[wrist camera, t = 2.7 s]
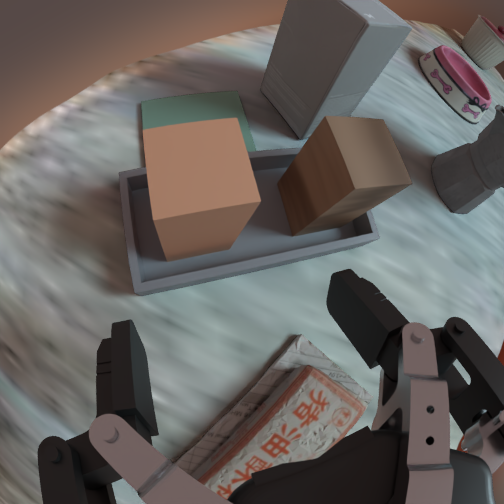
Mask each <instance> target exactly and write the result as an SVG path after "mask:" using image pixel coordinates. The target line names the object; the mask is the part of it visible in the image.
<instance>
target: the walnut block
mask: <svg viewBox="0 0 504 504" xmlns="http://www.w3.org/2000/svg"><path fill="white" fill-rule="evenodd" d="M411 184H412V181H411V179H410V176H409V174H408V172H407V169H406V167H405V164H404V162H403V160H402V158H401V155H400V153H399V151H398V149H397V146H396V144H395V142H394V140H393V138H392V136H391V134H390V132H389V130H388V128H387V126H386V124H385V122H384V120H382V119H372V118H359V117H343V116H325V117H324V118H323V119H322V121H321V122H320V124H319V125H318V126H317V128H316V129H315V130H314V132H313V133H312V135H311V136H310V137H309V139H308V140H307V142H306V143H305V144H304V146H303V147H302V149H301V150H300V152H299V153H298V154H297V156H296V157H295V159H294V160H293V161H292V163H291V164H290V166H289V167H288V169H287V170H286V171H285V173H284V174H283V176H282V177H281V179H280V180H279V181H278V183H277V185H278V189H279V192H280V195H281V199H282V202H283V205H284V209H285V212H286V216H287V219H288V222H289V226H290V229H291V233H292V236H293V237H294V236H299V235H304V234H309V233H314V232H320V231H325V230H330V229H335V228H340V227H342V226H344V225H346V224H347V223H349V222H351V221H352V220H354V219H355V218H357V217H359V216H360V215H362V214H364V213H365V212H367V211H369V210H370V209H372V208H374V207H375V206H377V205H379V204H380V203H382V202H383V201H385V200H387V199H388V198H390V197H392V196H393V195H395V194H396V193H398V192H400V191H401V190H403V189H404V188H406V187H408V186H409V185H411Z"/></svg>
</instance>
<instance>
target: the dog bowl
mask: <svg viewBox="0 0 504 504" xmlns="http://www.w3.org/2000/svg"><path fill="white" fill-rule="evenodd" d="M418 62H419V66H420V68H421V70H422V72H423V74H424V76H425V77H426V79H427V80H428V82H429V83H430V84H431V86H432V87H433V88H434V90H435V91H436V92H437V93H438V95H439V96H440V97H441V98H442V99H443V100H444V101H445V102H446V104H447V105H448V106H449V107H450V108H451V109H452V110H453V111H454V112H456V113H457V114H458V115H459V116H460V117H461V118H463V119H464V120H465V121H467V122H469V123H471V124H477V123H478V122H479V120H480V119H481V117H482V116H483V114H484V113H485V111H486V110H487V109H488V107H489V106H490V104H491V95H490V93H489V90H488V88H487V87H486V85H485V84H484V82H483V80H482V79H481V78H480V76H479V75H478V74H477V72H476V71H475V70H474V69H473V68H472V67H471V66H470V64H469V63H468V62H467V61H466V60H465V59H464V58H462V57H461V56H460V55H459V54H458V53H457V52H455V51H454V50H452V49H451V48H449V47H447V46H444V45H441V46H439V47H437V48H435V49H434V50H432V51H430V52H429V53H427V54H425V55H423V56H421V57H419V59H418Z"/></svg>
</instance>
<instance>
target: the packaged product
mask: <svg viewBox="0 0 504 504" xmlns="http://www.w3.org/2000/svg"><path fill="white" fill-rule="evenodd" d="M372 399H373V396H372V395H371V394H369V393H368V392H367V391H366V390H365V389H364V388H363V387H361V386H360V385H359V384H358V383H357V382H356V381H355V380H353V379H352V378H351V377H350V376H349V375H348V374H346V373H345V372H344V371H343V370H342V369H341V368H340V367H338V366H337V365H336V364H335V363H334V362H333V361H331V360H330V359H329V358H328V357H327V356H326V355H325V354H324V353H322V352H321V351H320V350H319V349H318V348H317V347H316V346H314V345H313V344H312V343H311V342H310V341H309V340H307V339H306V338H305V337H304V336H303V335H302V334H300V335H298V336H297V337H296V338H295V339H294V340H293V342H292V343H291V344H290V345H289V346H288V347H287V348H286V349H285V350H284V351H283V353H282V354H281V355H280V356H279V357H278V358H277V360H276V361H275V362H274V363H273V364H272V365H271V366H270V368H269V369H268V370H267V371H266V373H265V374H264V375H263V377H262V378H261V379H260V380H259V381H258V382H257V384H256V385H255V386H254V387H253V388H252V389H251V390H250V391H249V392H248V393H247V394H246V395H245V396H244V397H243V398H242V399H241V400H240V401H239V402H238V403H237V404H236V405H235V406H234V407H233V408H232V409H231V410H230V411H229V412H228V413H227V414H226V415H225V416H223V417H222V418H221V419H220V420H219V421H218V422H217V423H216V424H215V425H214V426H213V427H212V428H211V429H210V430H209V431H208V432H207V433H206V434H205V435H204V437H203V438H202V439H201V440H200V441H199V442H198V443H197V444H196V445H195V446H194V447H192V448H191V449H190V450H189V451H187V452H186V453H185V454H184V455H183V456H182V457H181V458H180V459H179V460H178V461H176V462H175V463H174V464H175V465H177V466H178V467H179V468H181V469H182V470H183V471H185V472H186V473H187V474H189V475H190V476H191V477H193V478H194V479H196V480H197V481H198V482H200V483H201V484H203V485H204V486H206V487H207V488H209V489H210V490H212V491H213V492H215V493H216V494H218V495H220V496H221V497H223V498H224V499H226V500H227V499H228V497H229V496H230V495H231V494H232V492H233V491H234V490H235V489H236V488H237V487H239V486H240V485H241V484H243V483H244V482H245V481H247V480H249V479H251V473H254V472H257V471H261V470H264V469H267V468H270V467H273V466H276V465H279V464H282V463H290V462H297V461H304V460H310V459H316V458H318V457H320V456H321V455H322V454H324V453H325V452H326V451H328V450H329V449H330V448H331V447H333V446H334V445H335V444H336V443H338V442H339V441H340V440H341V439H343V438H344V437H345V435H346V434H347V432H348V431H349V430H350V429H351V428H352V427H353V426H354V425H355V424H356V422H357V421H358V420H359V418H360V417H361V416H362V415H363V413H364V411H365V410H366V409H367V405H368V404H369V403H370V402H371V400H372Z"/></svg>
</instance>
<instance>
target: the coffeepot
mask: <svg viewBox="0 0 504 504" xmlns="http://www.w3.org/2000/svg"><path fill="white" fill-rule="evenodd" d="M495 109H496V115H495V118H494V120H493V121H492V122H491V123H490V124H489V125H488V126H487V127H486V128H485V129H484V130H483V131H482V132H481V133H480V134H479V136H478V140H477V141H475V142H474V143H472V144H470V143H467V144H465V145H462V146H460V147H457V148H455V149H452V150H450V151H447V152H445V153H442V154H440V155H437V156H436V158H435V160H434V162H433V164H432V177H433V181H434V184H435V187H436V189H437V191H438V193H439V195H440V197H441V199H442V200H443V202H444V203H445V204H446V205H447V207H448V208H449V209H451V210H452V211H453V212H454V213H458V214H467V213H469V212H470V211H471V210H473V209H474V208H475V207H477V206H478V205H479V204H481V203H482V202H483V201H485V200H486V199H487V198H489V197H490V196H491V195H493V194H494V192H495V190H496V189H498V188H500V187H503V188H504V107H503V106H502V107H501V106H500V105H497V106H496V107H495Z"/></svg>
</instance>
